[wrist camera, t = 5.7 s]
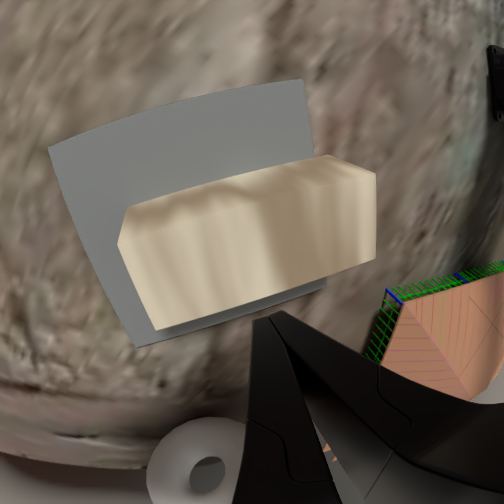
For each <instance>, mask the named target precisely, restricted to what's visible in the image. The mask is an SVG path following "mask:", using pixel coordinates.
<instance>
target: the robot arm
mask: <svg viewBox="0 0 504 504" xmlns="http://www.w3.org/2000/svg"><path fill="white" fill-rule="evenodd" d="M488 51H489V58H490V67H491V77H492V90H493V112H494V119H495V121H498V122H504V49H503V48H501V47H498V46H495V45H489V47H488ZM311 418H312V419H311ZM246 419H247V420H246V426H245V438H244V447H243V454H242V460H241V465H240V470H239V475H238V479H237V483H236V487H235V491H234V495H233V499H232V503H231V504H343V503H342V501H341V499H340V497H339V494H338V492H337V489H336V487H335V484H334V482H333V478H332V475H331V473H330V470H329V467H328V464H327V461H326V458H325V455H324V453H323V450H322V447H321V444H320V441H319V439H318V436H317V433H316V430H315V428H314V424H313V422H312V420H313V421H314V423H315V425H316V426H317V428H318V429H319V431H320V433H321V434H322V436H323V437H324V439H325V441H326V442H327V444H328V445H329V447H330V449H331V450H332V451H333V453H334V455H335V456H336V458H337V460H338V461H339V463H340V464H341V466H342V467H343V469H344V470H345V472H346V474H347V475H348V476H349V478H350V480H351V481H352V483H353V484H354V486H355V487H356V489H357V490H358V492H359V493H360V495H361V496H362V498H363V499H365V500H364V501H365V503H366V504H504V403H498V404H478V403H473V402H469V401H466V400H463V399H460V398H457V397H454V396H452V395H449V394H446V393H443V392H440V391H438V390H435V389H432V388H430V387H427V386H424V385H422V384H419V383H417V382H415V381H412V380H410V379H408V378H405V377H403V376H401V375H399V374H397V373H395V372H393V371H391V370H389V369H388V368H386V367H384V366H382V365H378V363H376V362H374V361H372V360H371V359H369V358H367V357H365V356H363V355H361V354H360V353H358V352H356V351H354V350H352V349H350V348H349V347H347V346H345V345H343V344H341V343H340V342H338V341H336V340H334V339H332V338H331V337H329V336H327V335H325V334H323V333H322V332H320V331H318V330H316V329H315V328H313V327H311V326H309V325H307V324H306V323H304V322H302V321H300V320H299V319H297V318H295V317H293V316H292V315H290V314H288V313H287V312H285V311H283V310H278V311H276V312H273V313H270V314H268V316H266V315H264V316H261V317H258V318H255V319H253V321H252V334H251V350H250V366H249V382H248V398H247V414H246Z"/></svg>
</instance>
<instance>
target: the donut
mask: <svg viewBox="0 0 504 504" xmlns="http://www.w3.org/2000/svg"><path fill="white" fill-rule="evenodd" d="M245 426H246V425H245V424H243V423H240V422H237V421H235V420H232V419H229V418H224V417H203V418H199V419H194V420H190V421H188V422H186V423H184V424H182V425H180V426H178V427H176V428H174V429H173V430H172V431H171V432H170V433H168V434H167V435H166V436H165V437H164V438H163V439H162V440H161V441H160V443H159V444H158V445H157V447H156V448H155V450H154V451H153V453H152V455H151V458H150V461H149V464H148V467H147V487H148V490H149V494H150V497H151V500H152V502H153V504H231V503H232V499H233V495H234V491H235V487H236V483H237V479H238V475H239V470H240V465H241V460H242V454H243V447H244V438H245ZM209 456H215V457H219V458H220V459H221V460H222V461H223V463H224V465H225V476H224V478H223V480H222V482H221V483H220V485H219V486H218V487H216V488H215V489H214V490H212V491H209V492H206V493H199V492H196V491H195V490H193V488H192V487H191V485H190V480H189V477H190V473H191V470H192V469H193V467H194V466H195V464H197V463H198V462H199V461H200V460H201V459H204V458H206V457H209Z"/></svg>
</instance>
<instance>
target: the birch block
mask: <svg viewBox="0 0 504 504" xmlns="http://www.w3.org/2000/svg"><path fill="white" fill-rule="evenodd" d="M117 246H118V248H119V251H120V253H121V255H122V258H123V260H124V263H125V265H126V267H127V270H128V272H129V274H130V277H131V279H132V281H133V284H134V286H135V288H136V290H137V292H138V295H139V297H140V299H141V301H142V303H143V305H144V308H145V310H146V312H147V314H148V316H149V318H150V320H151V322H152V324H153V326H154V328H155V330H160V329H163V328H167V327H170V326H174V325H177V324H181V323H184V322H187V321H191V320H194V319H197V318H201V317H204V316H207V315H211V314H214V313H217V312H220V311H224V310H227V309H230V308H233V307H236V306H239V305H243V304H246V303H249V302H252V301H255V300H258V299H261V298H264V297H267V296H270V295H273V294H276V293H279V292H282V291H285V290H288V289H291V288H294V287H297V286H300V285H303V284H306V283H309V282H312V281H314V280H317V279H320V278H323V277H326V276H329V275H331V274H334V273H337V272H340V271H343V270H345V269H348V268H351V267H354V266H356V265H359V264H362V263H364V262H367V261H370V260H372V259H375V255H376V175H375V173H373V172H370V171H368V170H366V169H363V168H361V167H358V166H356V165H353V164H351V163H348V162H346V161H343V160H340V159H338V158H335V157H333V156H330V155H323V156H319V157H314V158H309V159H304V160H300V161H295V162H290V163H286V164H282V165H277V166H273V167H269V168H264V169H260V170H256V171H252V172H248V173H244V174H240V175H236V176H232V177H228V178H225V179H221V180H217V181H213V182H210V183H206V184H203V185H199V186H195V187H192V188H188V189H185V190H182V191H178V192H175V193H171V194H168V195H165V196H161V197H158V198H155V199H152V200H149V201H145V202H142V203H139V204H136V205H133V206H130V207H127V209H126V213H125V216H124V220H123V224H122V227H121V231H120V235H119V239H118V243H117Z"/></svg>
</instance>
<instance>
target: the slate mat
mask: <svg viewBox="0 0 504 504" xmlns="http://www.w3.org/2000/svg"><path fill="white" fill-rule="evenodd" d="M48 151H49V154H50V158H51V161H52V164H53V167H54V170H55V173H56V176H57V179H58V182H59V185H60V188H61V191H62V193H63V196H64V199H65V202H66V204H67V207H68V209H69V212H70V215H71V217H72V220H73V222H74V225H75V227H76V229H77V232H78V234H79V237H80V239H81V241H82V244H83V246H84V248H85V250H86V253H87V255H88V257H89V259H90V262H91V264H92V266H93V268H94V270H95V272H96V274H97V276H98V278H99V281H100V283H101V285H102V287H103V289H104V291H105V293H106V295H107V296H108V298H109V300H110V302H111V304H112V306H113V308H114V310H115V312H116V314H117V315H118V317H119V319H120V321H121V323H122V325H123V326H124V328H125V330H126V332H127V333H128V335H129V337H130V339H131V340H132V342H133V344H134V345H135V347H136V348H137V347H140V346H144V345H148V344H151V343H155V342H158V341H162V340H165V339H169V338H172V337H176V336H179V335H183V334H186V333H189V332H193V331H196V330H199V329H203V328H206V327H209V326H212V325H216V324H219V323H222V322H225V321H228V320H231V319H235V318H238V317H241V316H244V315H247V314H250V313H253V312H256V311H259V310H262V309H265V308H268V307H271V306H274V305H277V304H280V303H282V302H285V301H288V300H291V299H294V298H297V297H300V296H302V295H305V294H308V293H311V292H314V291H316V290H319V289H322V288H325V287H326V279H325V277H323V278H320V279H317V280H314V281H312V282H309V283H306V284H303V285H300V286H297V287H294V288H291V289H288V290H285V291H282V292H279V293H276V294H273V295H270V296H267V297H264V298H261V299H258V300H255V301H252V302H249V303H246V304H243V305H239V306H236V307H233V308H230V309H227V310H224V311H220V312H217V313H214V314H211V315H207V316H204V317H201V318H197V319H194V320H191V321H187V322H184V323H181V324H177V325H174V326H170V327H167V328H163V329H160V330H155V328H154V326H153V324H152V322H151V320H150V318H149V316H148V314H147V312H146V310H145V308H144V305H143V303H142V301H141V299H140V297H139V295H138V292H137V290H136V288H135V286H134V284H133V281H132V279H131V277H130V274H129V272H128V270H127V267H126V265H125V263H124V260H123V258H122V255H121V253H120V251H119V248H118V246H117V243H118V239H119V235H120V231H121V227H122V224H123V220H124V216H125V213H126V209H127V207H130V206H133V205H136V204H139V203H142V202H145V201H149V200H152V199H155V198H158V197H161V196H165V195H168V194H171V193H175V192H178V191H182V190H185V189H188V188H192V187H195V186H199V185H203V184H206V183H210V182H213V181H217V180H221V179H225V178H228V177H232V176H236V175H240V174H244V173H248V172H252V171H256V170H260V169H264V168H269V167H273V166H277V165H282V164H286V163H290V162H295V161H300V160H304V159H309V158H314V150H313V142H312V135H311V127H310V120H309V114H308V107H307V101H306V94H305V88H304V82H303V79H296V80H288V81H280V82H273V83H266V84H259V85H253V86H247V87H242V88H236V89H231V90H226V91H221V92H216V93H212V94H207V95H203V96H199V97H194V98H190V99H186V100H182V101H178V102H175V103H171V104H167V105H164V106H160V107H157V108H153V109H150V110H147V111H143V112H140V113H137V114H134V115H131V116H128V117H125V118H122V119H119V120H116V121H113V122H110V123H107V124H105V125H102V126H99V127H97V128H94V129H91V130H89V131H86V132H84V133H81V134H79V135H76V136H74V137H71V138H69V139H67V140H64V141H62V142H60V143H57V144H55V145H53V146H51V147H49V148H48Z"/></svg>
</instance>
